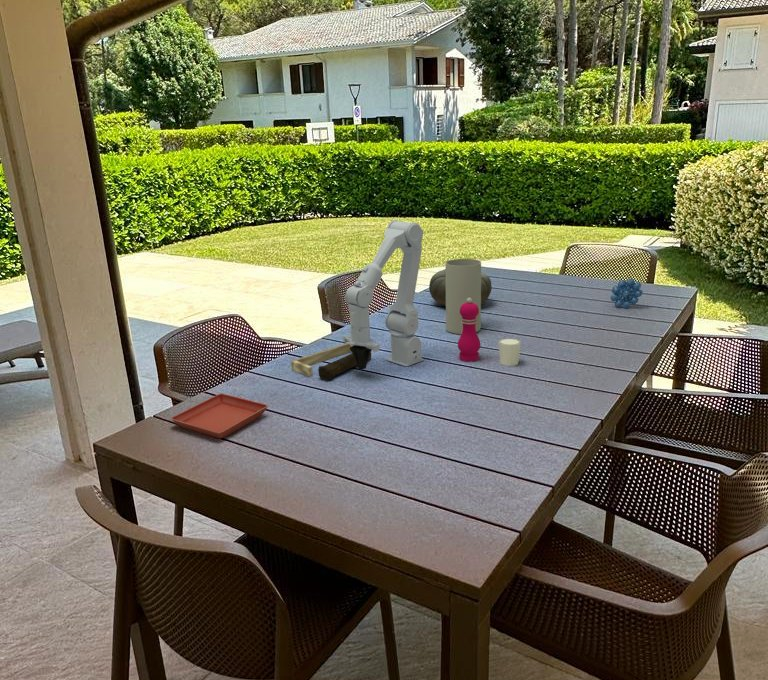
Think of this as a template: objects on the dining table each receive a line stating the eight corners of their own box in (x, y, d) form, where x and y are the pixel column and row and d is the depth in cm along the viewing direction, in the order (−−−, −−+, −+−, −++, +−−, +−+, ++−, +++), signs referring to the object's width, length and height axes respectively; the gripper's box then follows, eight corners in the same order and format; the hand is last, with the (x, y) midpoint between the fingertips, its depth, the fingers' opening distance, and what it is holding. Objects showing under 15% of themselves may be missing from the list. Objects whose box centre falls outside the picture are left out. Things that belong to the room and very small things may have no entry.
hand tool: (329, 383, 193) (328, 365, 191) (317, 379, 196) (316, 362, 194) (378, 361, 209) (378, 345, 208) (367, 358, 212) (367, 342, 211)
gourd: (449, 288, 286) (452, 251, 278) (499, 303, 274) (504, 265, 265) (417, 306, 268) (420, 268, 260) (470, 324, 256) (474, 284, 248)
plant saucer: (220, 444, 158) (219, 432, 157) (170, 429, 167) (169, 417, 166) (270, 416, 172) (269, 405, 171) (222, 403, 182) (220, 392, 181)
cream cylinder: (522, 360, 204) (523, 339, 202) (517, 367, 198) (517, 346, 196) (501, 358, 207) (501, 337, 205) (495, 365, 201) (495, 343, 199)
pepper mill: (482, 355, 210) (483, 295, 204) (478, 363, 203) (478, 301, 197) (460, 353, 212) (460, 294, 206) (455, 361, 206) (455, 300, 199)
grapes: (641, 306, 257) (644, 276, 253) (641, 310, 251) (643, 280, 247) (610, 304, 261) (612, 275, 257) (609, 308, 255) (611, 278, 251)
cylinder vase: (441, 333, 233) (440, 265, 226) (451, 323, 244) (451, 258, 237) (475, 336, 229) (476, 266, 221) (484, 326, 240) (484, 259, 232)
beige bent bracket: (369, 356, 213) (368, 347, 212) (309, 376, 198) (308, 367, 197) (350, 350, 220) (350, 341, 219) (291, 369, 204) (291, 360, 203)
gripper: (334, 324, 196) (337, 366, 200) (366, 333, 186) (368, 377, 190) (351, 319, 200) (354, 360, 204) (384, 328, 190) (385, 371, 194)
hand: (362, 368), depth 197 cm, fingers closed
